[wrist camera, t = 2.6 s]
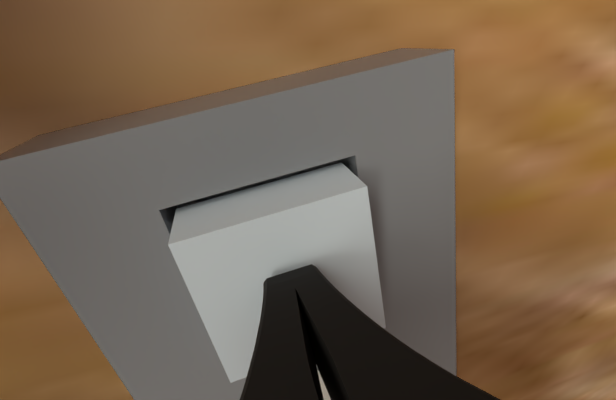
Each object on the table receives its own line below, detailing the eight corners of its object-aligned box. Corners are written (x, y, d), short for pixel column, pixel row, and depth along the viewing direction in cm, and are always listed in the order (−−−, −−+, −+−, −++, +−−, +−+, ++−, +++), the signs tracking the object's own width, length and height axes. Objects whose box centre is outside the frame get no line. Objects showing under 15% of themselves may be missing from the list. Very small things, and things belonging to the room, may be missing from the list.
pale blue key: (228, 333, 12) (230, 382, 10) (175, 208, 10) (167, 244, 8) (362, 288, 13) (386, 327, 11) (341, 162, 11) (367, 186, 9)
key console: (258, 529, 22) (264, 595, 19) (38, 135, 11) (-22, 165, 8) (429, 457, 24) (457, 509, 21) (401, 48, 12) (454, 49, 9)
